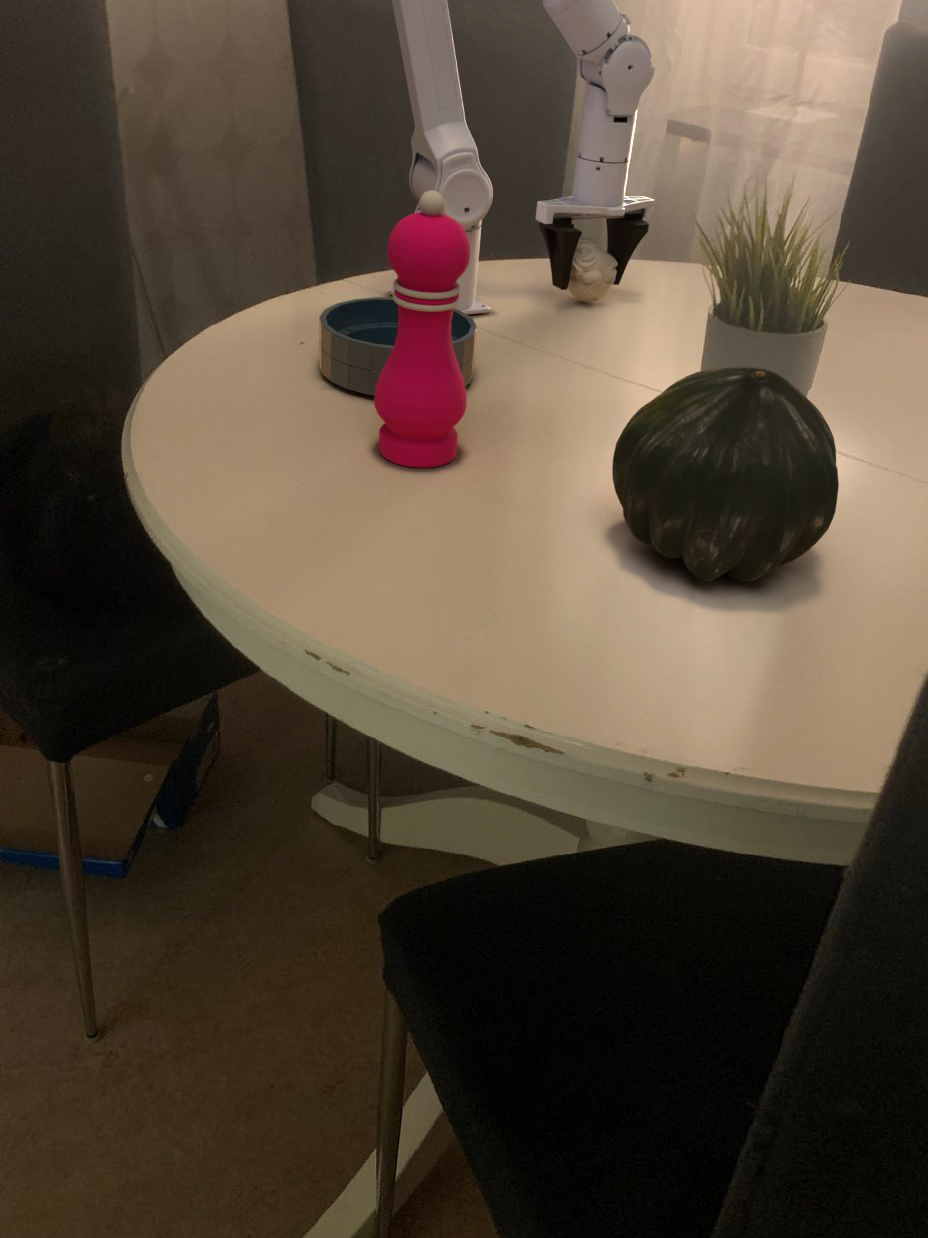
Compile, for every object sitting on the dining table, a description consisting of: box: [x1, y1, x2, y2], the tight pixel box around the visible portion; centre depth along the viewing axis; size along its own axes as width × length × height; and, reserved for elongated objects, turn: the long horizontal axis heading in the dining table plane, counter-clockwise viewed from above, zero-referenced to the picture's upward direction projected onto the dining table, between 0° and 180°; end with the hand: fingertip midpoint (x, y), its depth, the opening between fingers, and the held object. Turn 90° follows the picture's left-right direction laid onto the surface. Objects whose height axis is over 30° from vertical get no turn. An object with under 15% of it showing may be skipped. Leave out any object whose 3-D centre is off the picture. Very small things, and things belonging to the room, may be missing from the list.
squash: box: [611, 365, 840, 582], centre depth 73 cm, size 14×15×15 cm
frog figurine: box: [567, 237, 618, 303], centre depth 123 cm, size 6×7×7 cm
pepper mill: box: [373, 190, 470, 469], centre depth 81 cm, size 7×7×20 cm
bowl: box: [318, 296, 478, 396], centre depth 99 cm, size 14×14×5 cm
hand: (585, 284), depth 123 cm, fingers closed on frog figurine, 7 cm apart
